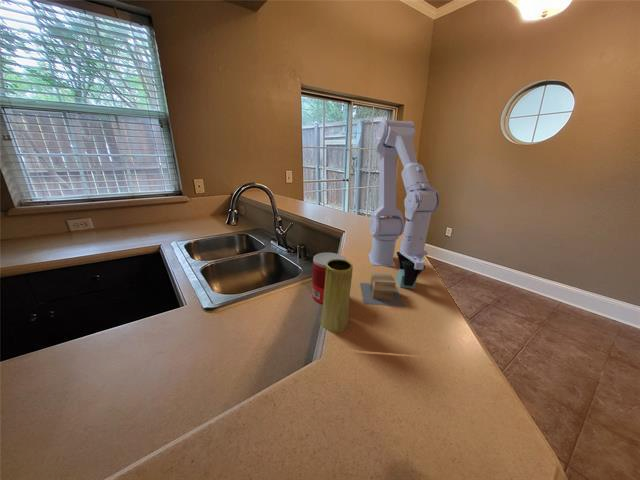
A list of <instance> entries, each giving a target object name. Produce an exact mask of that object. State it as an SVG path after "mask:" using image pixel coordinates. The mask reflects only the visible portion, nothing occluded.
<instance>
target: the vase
mask: <svg viewBox="0 0 640 480" xmlns="http://www.w3.org/2000/svg"><path fill="white" fill-rule="evenodd" d="M353 270H354V269H353V263H352V262H351V261H349V260H347V259H346V260H342V259H333V260H330V261H328V262H327V263H326V274H325V287H324V298H323V305H322V309H321V318H320V325H321V327H322V328H323V329H324V330H326V331H328V332H332V333H341V332H344V331H345V330H347V328H348V327H349V325H350V323H349V321H350V320H349V312H350V310H349V309H350V297H351V288H352V287H351V286H352V279H353V278H352V277H353Z"/></svg>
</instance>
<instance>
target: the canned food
mask: <svg viewBox="0 0 640 480" xmlns="http://www.w3.org/2000/svg"><path fill="white" fill-rule="evenodd" d="M333 259H342V260H346V261H347V258H345V256H343V255H341V254H338V253H336V252H319V253H317V254H315V255H313V259H312V275H311V277H312V279H311V296H312V299H313V300H314V301H315V302H316V303H317V304H319V305H322V306H323V298H324V287H325V274H326V263H327V262H328V261H330V260H333Z"/></svg>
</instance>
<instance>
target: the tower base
mask: <svg viewBox="0 0 640 480" xmlns="http://www.w3.org/2000/svg"><path fill="white" fill-rule="evenodd" d="M370 283H371V284H370V290H371V294H372V298H373V299H386V300H393V295H394V291H380V290H374V289H373V285H372V282H371V281H370Z"/></svg>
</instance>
